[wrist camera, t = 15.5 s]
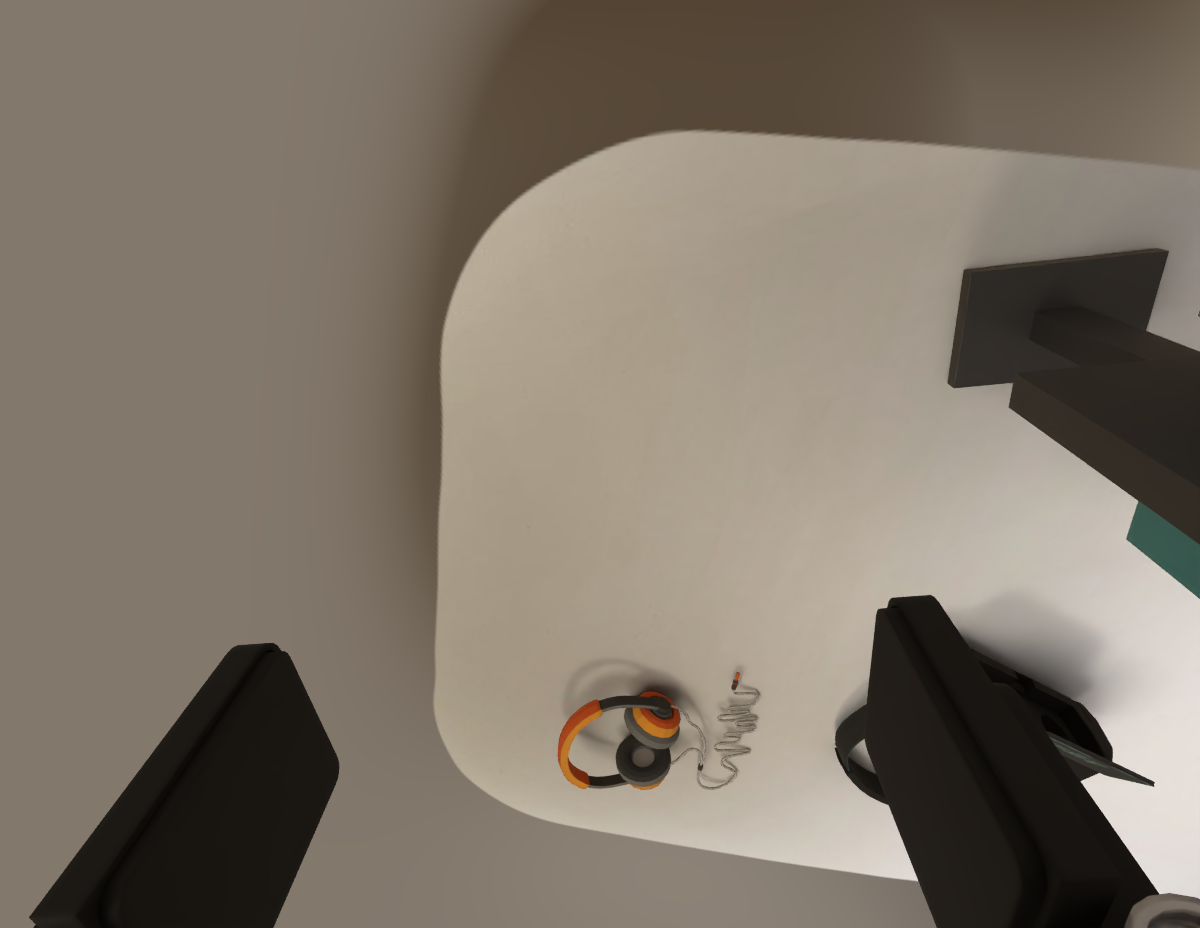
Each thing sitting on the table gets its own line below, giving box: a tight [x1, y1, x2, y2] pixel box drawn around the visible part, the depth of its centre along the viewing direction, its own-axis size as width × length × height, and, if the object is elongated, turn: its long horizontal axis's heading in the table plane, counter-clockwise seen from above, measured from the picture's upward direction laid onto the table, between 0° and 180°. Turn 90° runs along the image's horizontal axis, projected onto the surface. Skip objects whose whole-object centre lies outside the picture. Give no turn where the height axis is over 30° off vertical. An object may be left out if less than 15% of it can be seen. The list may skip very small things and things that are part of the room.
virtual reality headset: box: [835, 649, 1154, 804], centre depth 57 cm, size 19×22×10 cm
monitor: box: [948, 249, 1200, 545], centre depth 32 cm, size 8×16×24 cm, turn 97°
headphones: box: [558, 672, 759, 790], centre depth 60 cm, size 17×5×20 cm
